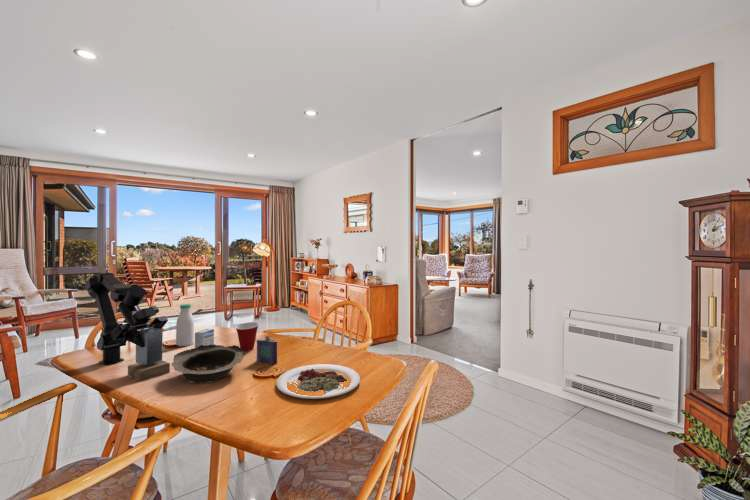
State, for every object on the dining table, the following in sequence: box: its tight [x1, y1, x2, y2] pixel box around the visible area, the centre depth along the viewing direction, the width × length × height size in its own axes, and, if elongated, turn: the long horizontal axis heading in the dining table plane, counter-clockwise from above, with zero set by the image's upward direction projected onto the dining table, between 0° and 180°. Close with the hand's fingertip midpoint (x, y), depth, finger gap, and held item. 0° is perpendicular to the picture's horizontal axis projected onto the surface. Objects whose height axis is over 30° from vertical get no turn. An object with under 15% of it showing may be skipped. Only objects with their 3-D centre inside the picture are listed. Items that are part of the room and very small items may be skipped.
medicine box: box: [194, 328, 215, 348], centre depth 157 cm, size 8×4×9 cm, turn 168°
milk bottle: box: [175, 303, 195, 347], centre depth 163 cm, size 8×8×20 cm
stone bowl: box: [170, 343, 244, 385], centre depth 124 cm, size 25×25×9 cm
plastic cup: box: [234, 321, 260, 352], centre depth 156 cm, size 11×11×12 cm
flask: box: [256, 334, 278, 365], centre depth 139 cm, size 10×3×12 cm, turn 71°
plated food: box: [276, 363, 361, 400], centre depth 119 cm, size 30×30×3 cm
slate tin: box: [135, 328, 164, 365], centre depth 125 cm, size 6×6×12 cm
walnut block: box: [127, 359, 171, 382], centre depth 125 cm, size 10×10×4 cm
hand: (151, 344), depth 124 cm, fingers closed on slate tin, 6 cm apart
